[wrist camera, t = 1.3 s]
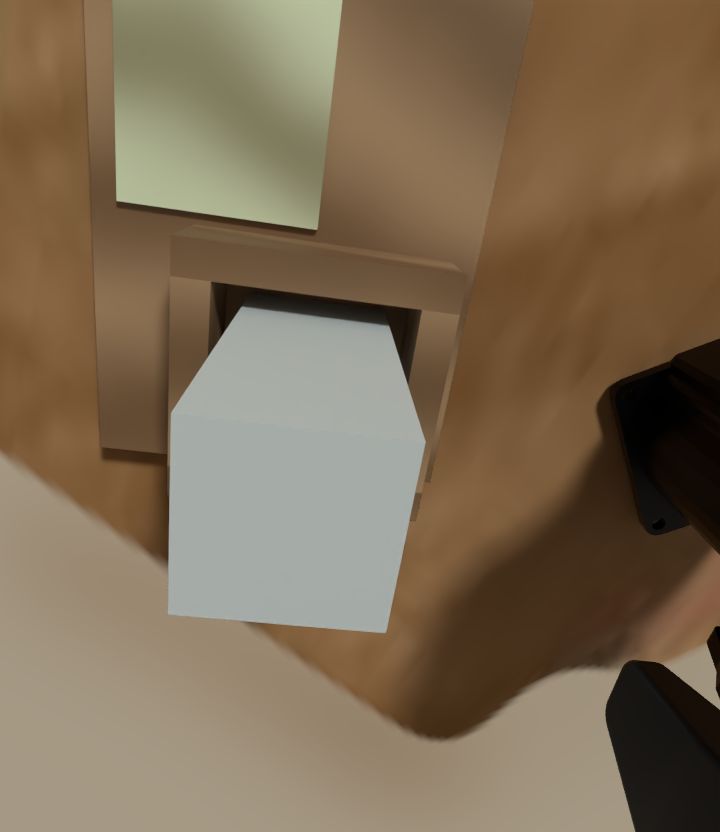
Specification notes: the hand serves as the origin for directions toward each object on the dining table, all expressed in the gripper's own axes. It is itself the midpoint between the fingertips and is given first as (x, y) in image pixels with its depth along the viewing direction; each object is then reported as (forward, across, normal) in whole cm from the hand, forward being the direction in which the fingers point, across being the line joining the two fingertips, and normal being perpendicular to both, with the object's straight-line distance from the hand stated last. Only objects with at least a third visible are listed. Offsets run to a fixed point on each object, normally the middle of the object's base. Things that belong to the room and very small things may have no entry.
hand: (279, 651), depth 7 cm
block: (+12, 0, 0) cm, 12 cm away
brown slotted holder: (+13, +1, -3) cm, 13 cm away
